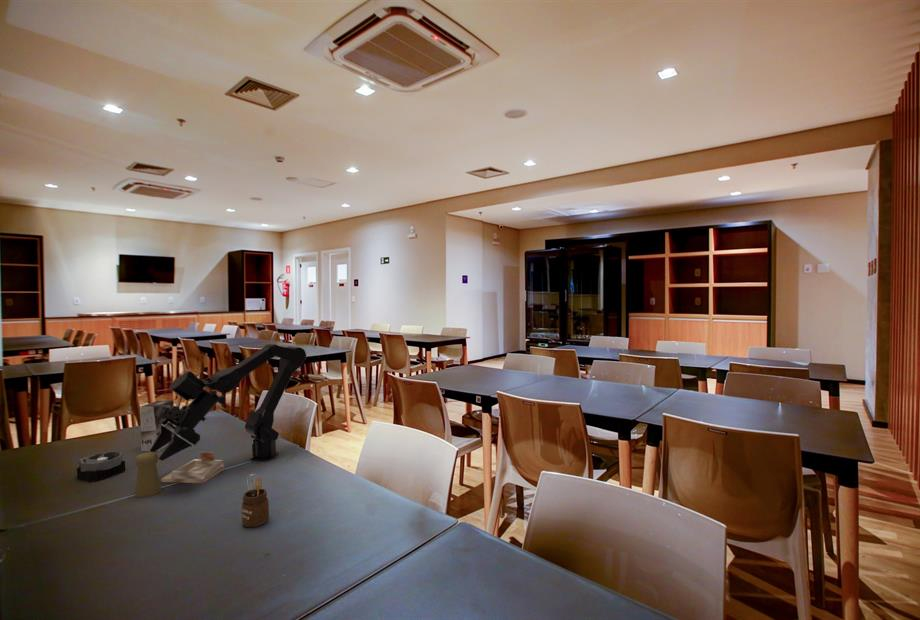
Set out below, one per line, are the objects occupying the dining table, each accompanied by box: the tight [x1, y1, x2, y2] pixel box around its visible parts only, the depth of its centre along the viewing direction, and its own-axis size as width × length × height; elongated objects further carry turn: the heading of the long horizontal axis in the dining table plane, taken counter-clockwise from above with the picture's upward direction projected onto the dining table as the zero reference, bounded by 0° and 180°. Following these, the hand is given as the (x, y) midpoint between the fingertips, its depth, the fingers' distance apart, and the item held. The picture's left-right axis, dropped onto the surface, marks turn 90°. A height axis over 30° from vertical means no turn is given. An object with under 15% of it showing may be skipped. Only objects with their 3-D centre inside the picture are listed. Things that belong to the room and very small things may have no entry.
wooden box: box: [160, 451, 225, 484], centre depth 133 cm, size 13×10×6 cm
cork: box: [134, 451, 162, 498], centre depth 122 cm, size 6×6×11 cm
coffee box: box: [139, 399, 176, 452], centre depth 158 cm, size 9×6×16 cm
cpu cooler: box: [76, 451, 126, 483], centre depth 134 cm, size 10×6×10 cm
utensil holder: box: [241, 473, 270, 528], centre depth 105 cm, size 6×6×12 cm
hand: (155, 455), depth 123 cm, fingers open, 9 cm apart
